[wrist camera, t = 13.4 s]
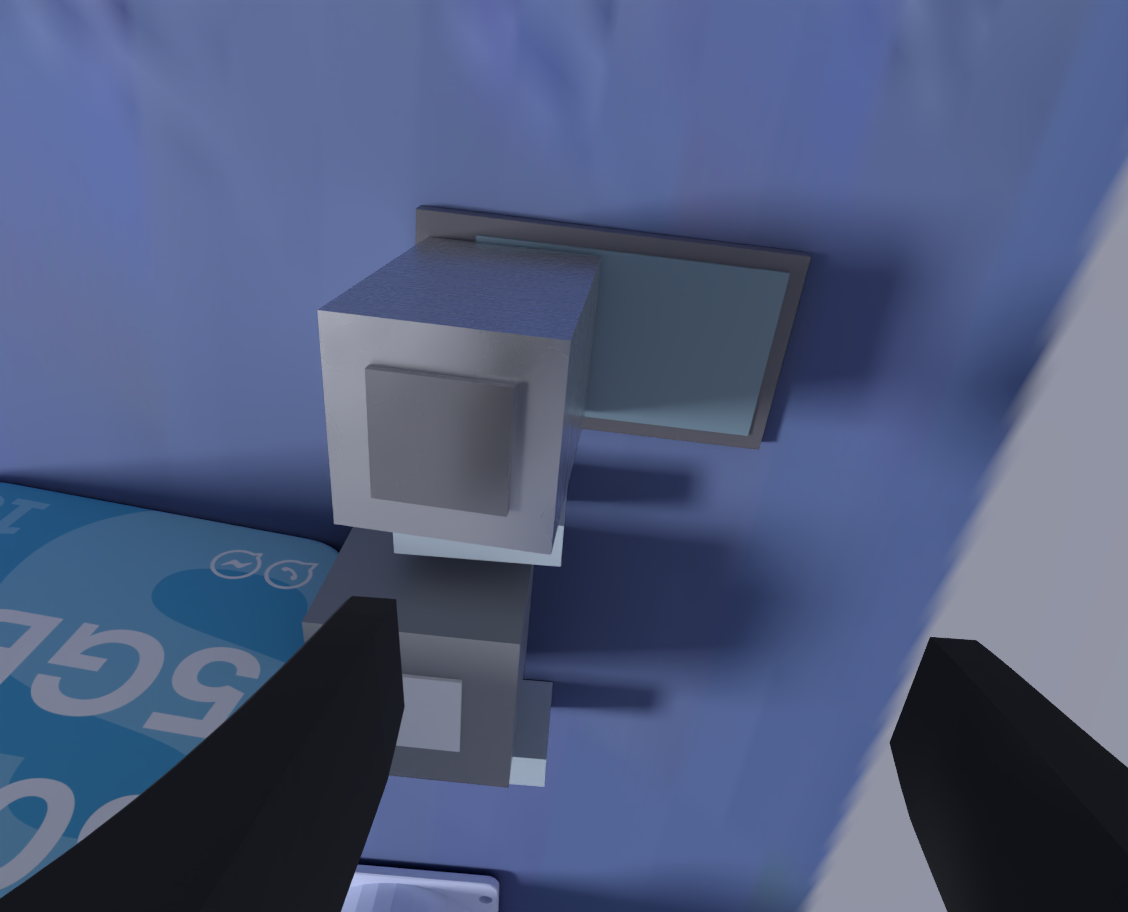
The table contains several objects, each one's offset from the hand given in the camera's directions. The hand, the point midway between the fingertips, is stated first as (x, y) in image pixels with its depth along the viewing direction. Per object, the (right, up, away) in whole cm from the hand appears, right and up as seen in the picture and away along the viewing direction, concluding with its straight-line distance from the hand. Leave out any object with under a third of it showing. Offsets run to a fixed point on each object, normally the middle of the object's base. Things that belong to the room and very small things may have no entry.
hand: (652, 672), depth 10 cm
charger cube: (-5, -1, +12) cm, 13 cm away
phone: (0, +6, +9) cm, 11 cm away
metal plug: (-2, +6, +7) cm, 10 cm away
